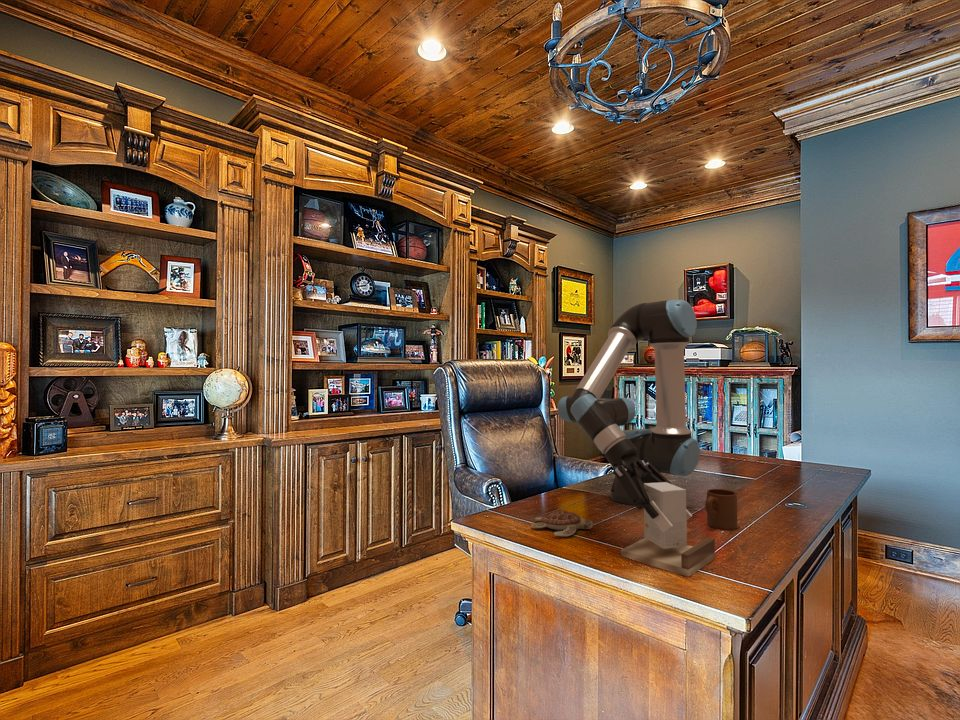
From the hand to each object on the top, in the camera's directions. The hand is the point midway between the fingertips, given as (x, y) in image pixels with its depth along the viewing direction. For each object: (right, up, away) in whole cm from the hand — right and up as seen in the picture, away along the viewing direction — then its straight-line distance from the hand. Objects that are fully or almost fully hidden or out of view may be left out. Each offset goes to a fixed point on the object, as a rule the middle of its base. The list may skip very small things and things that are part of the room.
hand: (678, 524), depth 114 cm
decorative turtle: (-23, -9, +24) cm, 34 cm away
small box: (-2, -5, +2) cm, 6 cm away
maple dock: (-2, -8, +2) cm, 9 cm away
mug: (+20, -9, +23) cm, 31 cm away
